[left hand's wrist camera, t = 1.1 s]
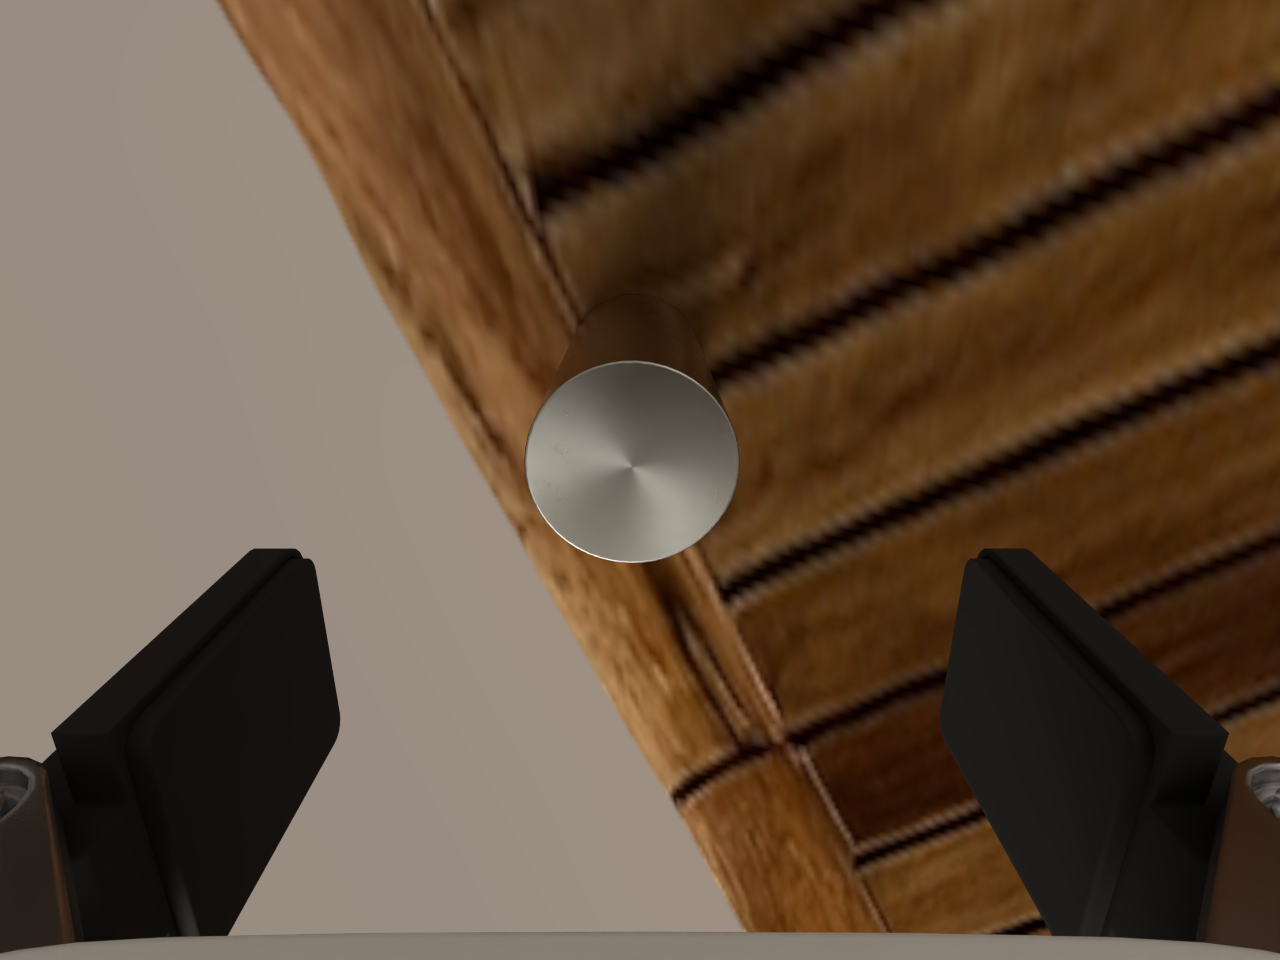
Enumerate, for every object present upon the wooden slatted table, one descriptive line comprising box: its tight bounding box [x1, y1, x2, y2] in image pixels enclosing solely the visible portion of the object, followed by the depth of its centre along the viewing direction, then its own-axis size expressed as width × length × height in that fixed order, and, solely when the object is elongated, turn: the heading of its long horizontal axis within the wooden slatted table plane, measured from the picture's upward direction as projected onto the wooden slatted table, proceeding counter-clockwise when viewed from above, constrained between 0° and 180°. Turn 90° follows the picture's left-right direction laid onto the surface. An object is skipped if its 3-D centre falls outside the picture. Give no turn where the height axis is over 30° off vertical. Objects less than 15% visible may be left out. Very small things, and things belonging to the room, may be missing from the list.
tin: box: [525, 294, 739, 563], centre depth 23 cm, size 5×5×12 cm
